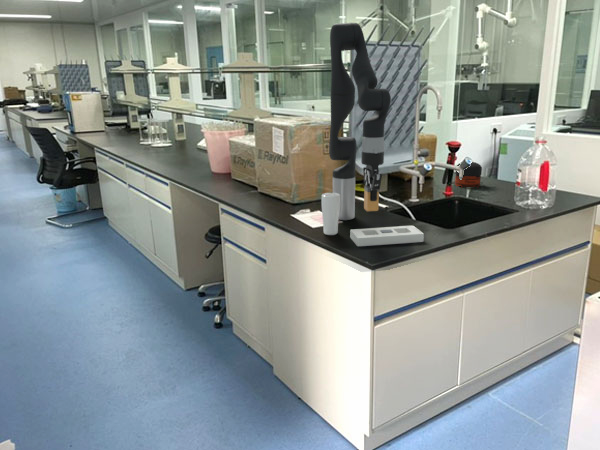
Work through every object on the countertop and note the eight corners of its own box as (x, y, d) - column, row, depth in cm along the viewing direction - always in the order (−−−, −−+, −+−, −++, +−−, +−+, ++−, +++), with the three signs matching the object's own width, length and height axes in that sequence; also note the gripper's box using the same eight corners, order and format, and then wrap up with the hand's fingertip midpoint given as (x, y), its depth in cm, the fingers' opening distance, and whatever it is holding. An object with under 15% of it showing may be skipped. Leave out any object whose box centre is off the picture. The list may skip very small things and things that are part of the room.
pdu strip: (350, 237, 174) (350, 228, 173) (412, 233, 178) (413, 224, 177) (357, 246, 165) (357, 237, 164) (423, 241, 168) (423, 232, 167)
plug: (363, 208, 169) (364, 186, 166) (374, 207, 169) (375, 185, 167) (367, 211, 165) (367, 188, 163) (378, 210, 166) (379, 188, 163)
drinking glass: (338, 230, 182) (338, 192, 178) (340, 236, 176) (340, 196, 172) (320, 230, 182) (320, 192, 178) (322, 236, 176) (322, 197, 171)
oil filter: (470, 182, 261) (449, 184, 258) (472, 159, 258) (451, 161, 254) (485, 186, 249) (464, 188, 246) (487, 163, 246) (466, 165, 242)
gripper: (356, 147, 167) (355, 195, 172) (368, 153, 154) (366, 205, 159) (376, 146, 168) (375, 193, 173) (390, 152, 155) (388, 203, 160)
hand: (371, 199), depth 166 cm, fingers closed on plug, 4 cm apart
